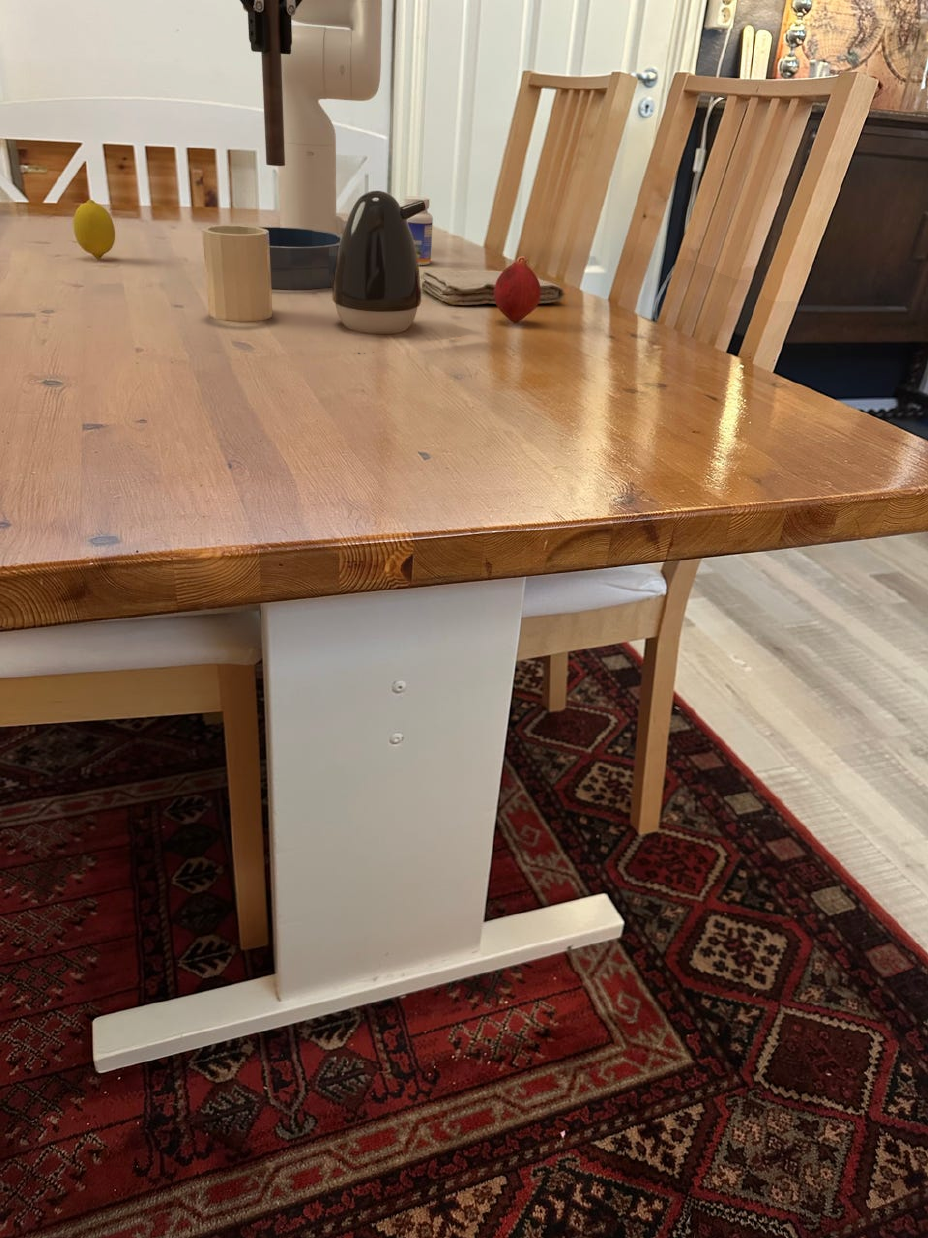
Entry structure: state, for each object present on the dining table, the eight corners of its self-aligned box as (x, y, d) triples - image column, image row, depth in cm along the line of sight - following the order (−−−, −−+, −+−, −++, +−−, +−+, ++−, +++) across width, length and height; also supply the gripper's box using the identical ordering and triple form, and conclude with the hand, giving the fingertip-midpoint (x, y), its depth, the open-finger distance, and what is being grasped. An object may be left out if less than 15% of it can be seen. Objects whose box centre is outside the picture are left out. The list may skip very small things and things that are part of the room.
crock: (251, 311, 111) (246, 223, 105) (284, 324, 106) (280, 233, 101) (198, 317, 106) (190, 226, 101) (229, 330, 102) (223, 236, 97)
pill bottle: (391, 262, 145) (393, 196, 140) (406, 258, 150) (408, 194, 145) (422, 267, 144) (425, 200, 139) (436, 262, 148) (438, 197, 143)
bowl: (302, 266, 137) (301, 224, 134) (372, 288, 127) (372, 243, 124) (197, 275, 127) (193, 229, 124) (264, 300, 116) (261, 251, 113)
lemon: (110, 263, 130) (102, 203, 126) (72, 260, 130) (63, 200, 126) (123, 257, 135) (116, 198, 131) (86, 254, 135) (78, 195, 131)
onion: (505, 329, 111) (511, 260, 107) (483, 318, 115) (488, 252, 111) (545, 327, 114) (552, 260, 110) (522, 316, 118) (528, 251, 114)
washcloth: (415, 288, 129) (416, 265, 127) (528, 287, 135) (530, 265, 133) (444, 307, 120) (445, 283, 118) (564, 305, 126) (566, 282, 124)
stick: (278, 163, 118) (272, -2, 109) (288, 165, 117) (283, -2, 107) (262, 163, 117) (254, -5, 107) (272, 165, 115) (265, -4, 106)
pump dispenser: (428, 344, 102) (434, 198, 95) (336, 343, 100) (334, 193, 92) (414, 322, 111) (418, 187, 103) (329, 321, 109) (327, 182, 101)
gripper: (304, -125, 108) (308, 55, 117) (181, -153, 98) (196, 46, 108) (341, -130, 103) (342, 58, 113) (215, -160, 94) (228, 49, 103)
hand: (271, 51), depth 110 cm, fingers closed on stick, 2 cm apart
